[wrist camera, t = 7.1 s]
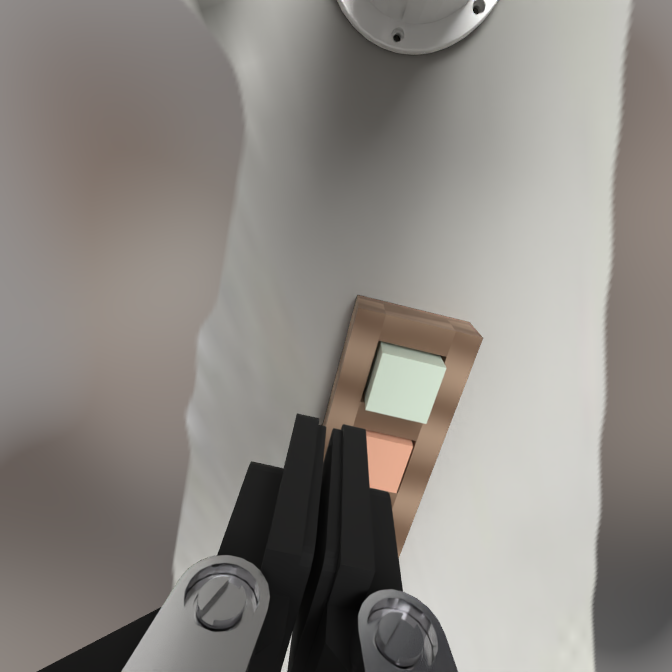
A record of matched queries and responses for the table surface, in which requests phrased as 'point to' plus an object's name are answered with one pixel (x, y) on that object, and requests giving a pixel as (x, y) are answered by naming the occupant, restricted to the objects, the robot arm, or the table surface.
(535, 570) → the table surface
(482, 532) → the table surface
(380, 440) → the terracotta key
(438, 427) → the console
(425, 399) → the sage key
